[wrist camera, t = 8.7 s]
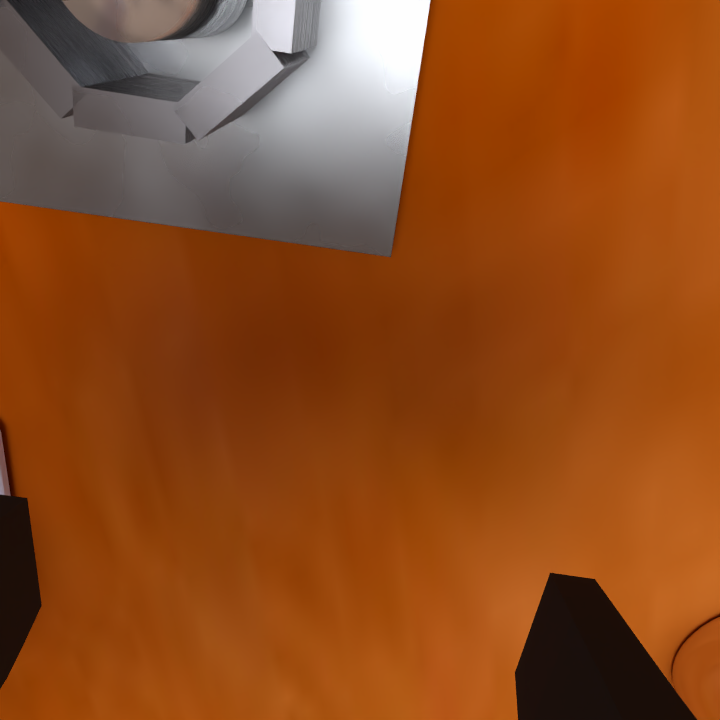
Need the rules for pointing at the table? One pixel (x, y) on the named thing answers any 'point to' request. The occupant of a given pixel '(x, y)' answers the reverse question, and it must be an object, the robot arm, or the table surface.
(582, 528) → the table surface
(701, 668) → the beer glass
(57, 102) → the ring
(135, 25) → the square steel plate
